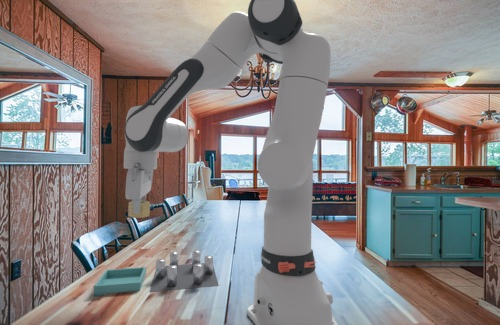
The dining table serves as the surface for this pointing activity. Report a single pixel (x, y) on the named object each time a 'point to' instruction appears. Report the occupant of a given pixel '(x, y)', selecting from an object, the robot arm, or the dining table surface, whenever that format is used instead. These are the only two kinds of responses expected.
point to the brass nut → (144, 210)
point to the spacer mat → (183, 279)
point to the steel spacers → (174, 266)
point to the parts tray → (120, 281)
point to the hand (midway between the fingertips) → (138, 211)
